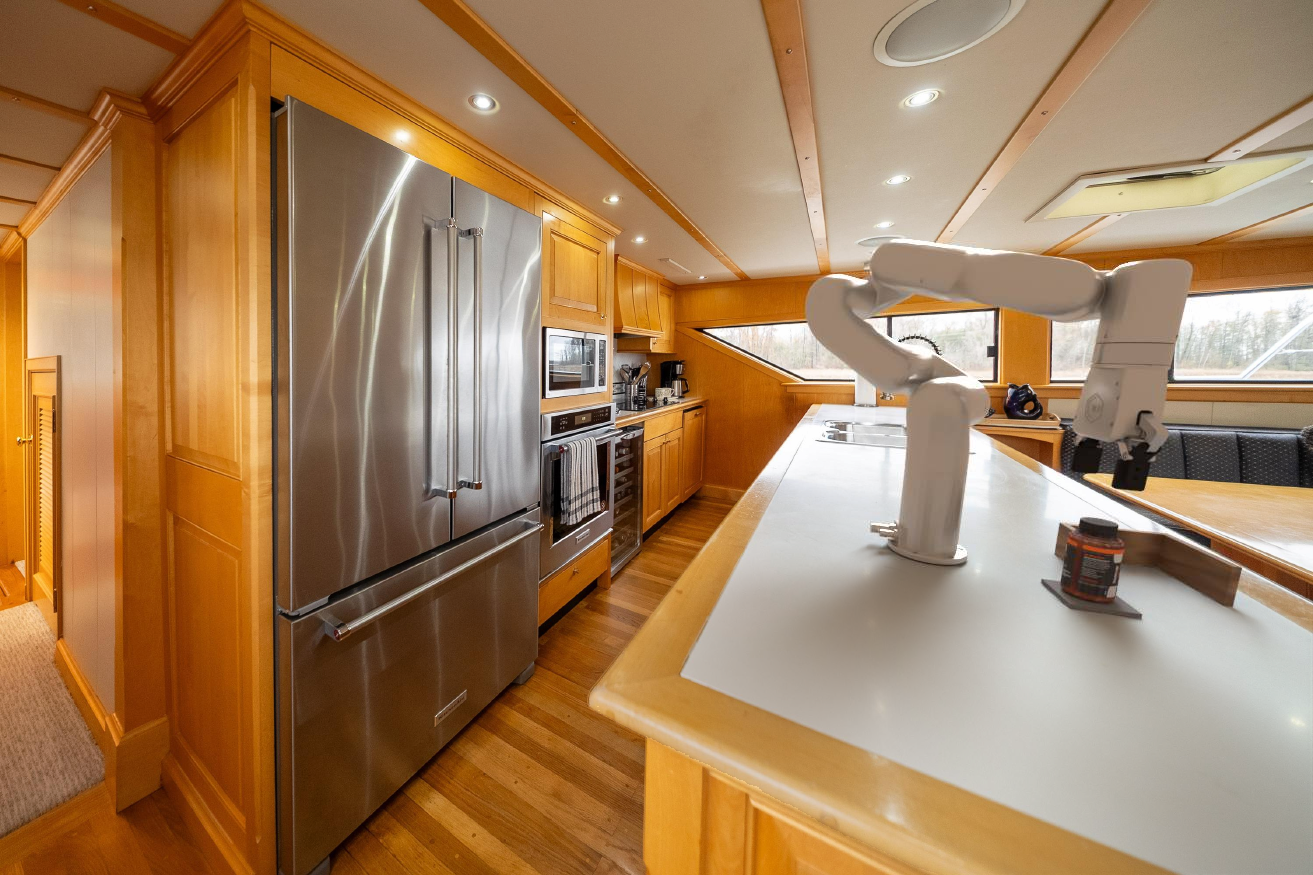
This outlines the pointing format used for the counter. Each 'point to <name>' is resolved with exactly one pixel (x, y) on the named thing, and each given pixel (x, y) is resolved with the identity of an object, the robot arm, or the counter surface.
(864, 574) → the counter surface
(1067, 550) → the supplement bottle
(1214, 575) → the angled wooden boards
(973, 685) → the counter surface
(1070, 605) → the mat
